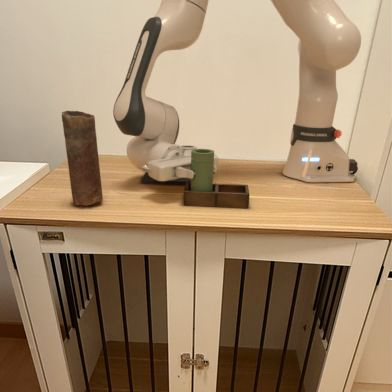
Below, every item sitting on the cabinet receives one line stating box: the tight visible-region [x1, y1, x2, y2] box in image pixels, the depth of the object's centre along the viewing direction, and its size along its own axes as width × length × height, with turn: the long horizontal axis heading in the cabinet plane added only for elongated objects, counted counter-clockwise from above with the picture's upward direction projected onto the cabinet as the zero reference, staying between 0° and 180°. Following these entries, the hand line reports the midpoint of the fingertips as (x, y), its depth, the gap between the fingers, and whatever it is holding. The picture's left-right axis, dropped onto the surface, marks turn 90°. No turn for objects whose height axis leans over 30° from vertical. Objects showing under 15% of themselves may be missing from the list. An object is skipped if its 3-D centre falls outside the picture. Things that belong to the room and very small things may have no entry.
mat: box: [140, 172, 191, 186], centre depth 124 cm, size 20×16×1 cm
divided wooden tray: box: [183, 182, 250, 209], centre depth 106 cm, size 16×9×4 cm, turn 87°
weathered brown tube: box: [61, 110, 104, 207], centre depth 97 cm, size 8×7×20 cm
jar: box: [191, 148, 215, 192], centre depth 103 cm, size 6×6×12 cm
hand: (204, 172), depth 102 cm, fingers closed on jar, 6 cm apart
